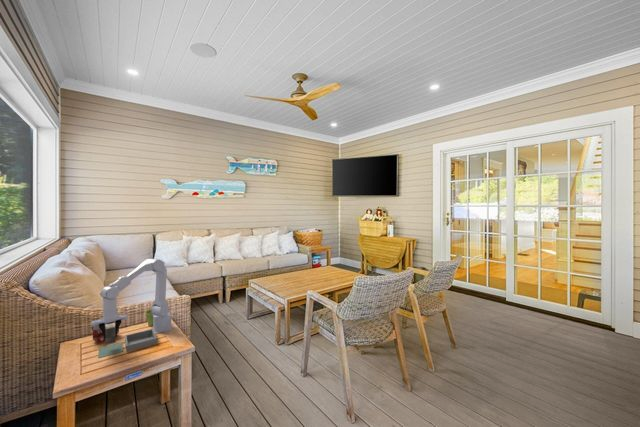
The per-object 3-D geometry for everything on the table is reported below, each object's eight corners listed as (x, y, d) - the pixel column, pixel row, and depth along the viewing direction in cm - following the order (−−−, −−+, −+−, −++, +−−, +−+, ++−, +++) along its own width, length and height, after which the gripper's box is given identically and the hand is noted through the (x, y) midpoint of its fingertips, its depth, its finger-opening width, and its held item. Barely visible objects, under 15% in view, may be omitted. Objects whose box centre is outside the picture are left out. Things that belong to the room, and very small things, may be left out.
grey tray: (152, 332, 164) (152, 326, 164) (157, 347, 146) (157, 341, 146) (124, 338, 156) (124, 332, 156) (126, 356, 138) (126, 349, 138)
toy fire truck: (121, 337, 158) (120, 319, 158) (93, 345, 149) (93, 326, 148) (117, 333, 163) (116, 316, 162) (90, 341, 153) (89, 323, 153)
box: (115, 335, 148) (114, 322, 148) (115, 342, 141) (115, 328, 140) (105, 337, 145) (105, 324, 145) (105, 344, 138) (105, 330, 138)
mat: (122, 343, 151) (122, 342, 151) (123, 352, 142) (123, 351, 142) (98, 349, 145) (98, 347, 145) (98, 359, 136) (98, 357, 136)
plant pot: (148, 329, 168) (148, 315, 168) (143, 324, 174) (142, 311, 174) (164, 324, 175) (164, 310, 175) (159, 320, 182) (158, 307, 181)
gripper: (91, 315, 135) (92, 343, 135) (127, 309, 144) (128, 334, 144) (92, 311, 141) (92, 337, 141) (126, 305, 150) (127, 330, 150)
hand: (110, 336), depth 143 cm, fingers closed on box, 4 cm apart
